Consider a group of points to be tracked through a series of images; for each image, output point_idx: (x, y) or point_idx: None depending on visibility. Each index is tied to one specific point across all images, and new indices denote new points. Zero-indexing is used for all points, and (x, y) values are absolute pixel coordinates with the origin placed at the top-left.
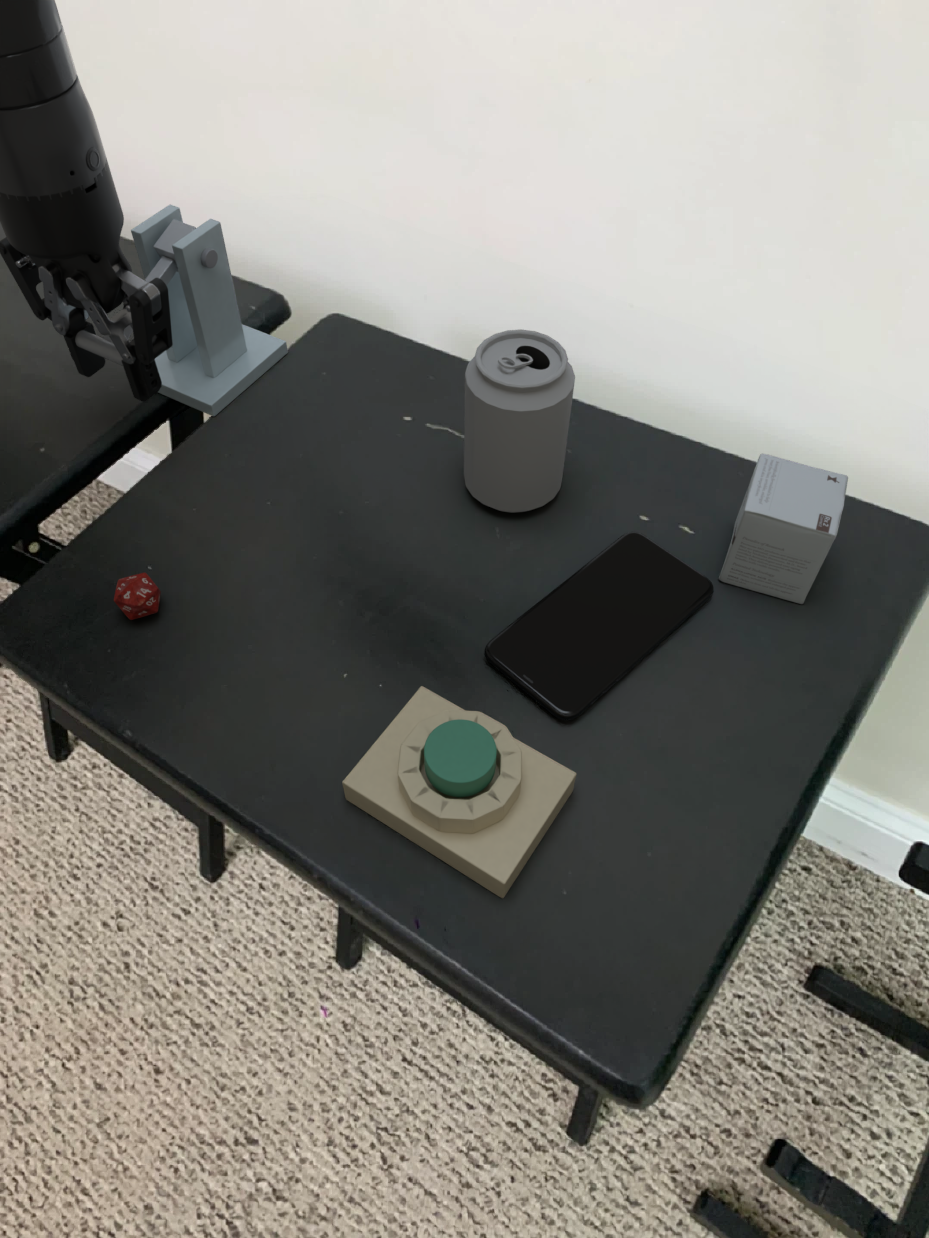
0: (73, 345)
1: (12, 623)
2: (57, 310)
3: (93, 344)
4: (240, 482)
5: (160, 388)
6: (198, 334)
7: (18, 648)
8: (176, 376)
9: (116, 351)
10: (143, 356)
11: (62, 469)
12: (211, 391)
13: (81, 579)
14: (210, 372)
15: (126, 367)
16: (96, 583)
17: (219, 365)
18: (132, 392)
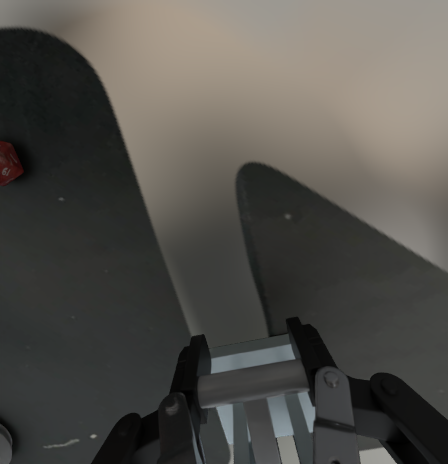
0: (301, 358)
1: (70, 45)
2: (315, 443)
3: (266, 382)
4: (111, 316)
5: (266, 343)
6: (240, 438)
7: (32, 29)
8: (262, 364)
9: (218, 395)
10: (118, 433)
11: (245, 214)
12: (218, 371)
13: (86, 139)
14: None
15: (189, 379)
16: (72, 148)
17: None
18: (201, 341)
